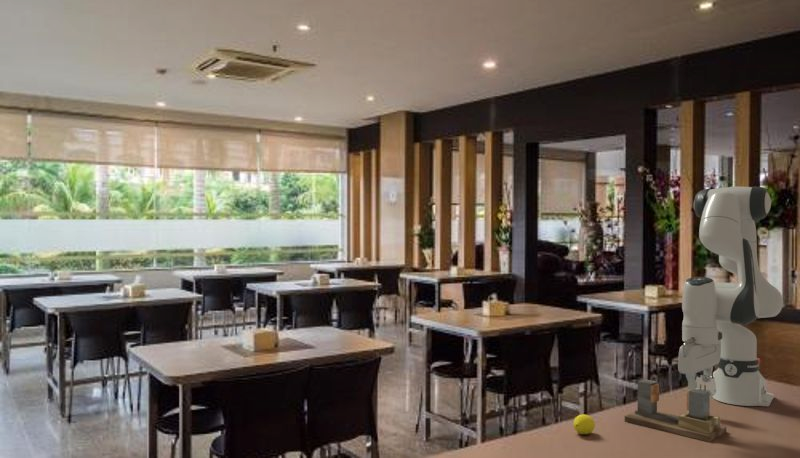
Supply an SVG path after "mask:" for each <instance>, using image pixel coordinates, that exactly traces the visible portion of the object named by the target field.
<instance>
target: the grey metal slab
mask: <svg viewBox="0 0 800 458" xmlns="http://www.w3.org/2000/svg"><path fill="white" fill-rule="evenodd" d="M710 399H711V397H710V391H704V390H699V389H695V388H694V389H691V390H689V391H687V392H686V411H687V412H689V417H690V418H694V419H699V420H703V421H707V420H709V415H710Z"/></svg>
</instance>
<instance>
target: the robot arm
mask: <svg viewBox="0 0 800 458" xmlns="http://www.w3.org/2000/svg"><path fill="white" fill-rule="evenodd" d="M771 206H772V199H771V196H770V194H769V191H768V190H767V189H766V188H765V187H761V186H755V185H753V186H739V185H738V186H737V185H736V186H729V187H718V188H705V189H702V190H700V191H698V192H697V193H696V194H695V197H694V201H693V210H694V214H695V216H696V217H698V218H699V219H700V223H699V228H698V229H699V232H698V237H699V240H700V242H701V244H702V245H703V247H705V248H706V249H707V250H708V251H710V252H711V253H713V254H715V255H717V256H718V262H719V265H720V266H721V268H723V269H724V270H725V271H727V272H729V273H732V274H734V275H735V276H736V277H737V279H738V280H737V281H738V282H723V281H721V282H719V281H717V282H715V281H714V279H713V278H710V277H706V276H695V277H694V276H693V277H689V278H687V279H685V281H684V283H683V288H682V295H681V296H682V299H681V309H682V310H681V311H682V312H683V313H682V314H683V320H682V323H681V325H682V326H681V331H682V332H681V334H682V335H681V339H682V342H684V343H683V344H682V345H681V346H680V347H679V351H678V362H677V370H678V372H679V373H680V374H683V375H685V378H686V381H687V387H688V389H691V390H693V389H695V388H696V387H697V382H696V377H697V373H699V372H701V371H703V374H701V375H702V381H703V382H707V383H708V382H710V381H711V376H712V377H714V379H715V383H716V393H715V395H714V396H713V397H712V398H713V399H714V400H716V401H718V402H721V403H725V404H728V405H736V406H741V407H742V406H743V407H745V406H746V407H757V406H758V407H770V405H771V403H772V402H773V400H774V398H775V397H774V394H773V393H771V392H767V380H766V379H765V377H764V376H763V375H762V374H761V372H760V371H759V370H760V364H761V358H759V357H758V356H757V355H758V352H757V351H758V347H757V346H758V345H757V343H758V341H757V340H758V339H757V336H756V335H755V333H754V332H753V331H751V330H750V329H749V328H747V327H745V326H748V325H749V324H751V323H753V322H755V321H756V320H757V319H761V318H762V319H764V318H765V319H766V318H773V317H776V316H777V315H779V314H780V313H781V311H782V309H783V306H784V297H783V296H782V294H781V292H780V291H779V289H777V287H775V286H774V285H773V284H771V283H770V282H769V281H768V280H767V279H766V278H765V277H764V275H763V274H762V271H761V269H760V266H759V261H758V249H757V247H758V246H757V245H758V243H757V240H758V237H757V229H756V228H757V226H756V224H759V221H760V220H763V219H765V218H766V217H767V216H769V213H770V210H771ZM716 365H717V367H718V368H717V369H715V370H714V371H713V369H714V366H716Z"/></svg>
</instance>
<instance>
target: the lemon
mask: <svg viewBox="0 0 800 458" xmlns="http://www.w3.org/2000/svg"><path fill="white" fill-rule="evenodd" d="M572 425H573V429H575V431H576V432H577V433H578V434H580V435H589V434H591V433H592V432H593V431H594V430H595V427H596V426H595V420H594V419H593V418H592V417H591V416H590V415H588V414H579V415H577V416H575V417H574V420H573V424H572Z"/></svg>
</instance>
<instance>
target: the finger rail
mask: <svg viewBox="0 0 800 458" xmlns="http://www.w3.org/2000/svg"><path fill="white" fill-rule="evenodd" d="M659 401H660V383H658V382H657V381H656V380H655V381H654V380H649V379H643V378H642V379H641V380H638V381H637V409H636V410H635V411H634V412H632V413H629V414H626V415H624V422H627V423H631V424H635V425H638V426H642V427H646V428H650V429H655V430H658V431H663V432H667V433H671V434H675V435H679V436H683V437H688V438H692V439H694V440H695V439H696V440H699V441H703V442H707V443H709V442H712V441H713V440H715V439H716V438H717V439H718V437H720V436H722V435H724V434H726V433H727V426H726V425H725V426H724V425H721V417H720V416H717V415H713V414H709V420H707V421H703V420H699V419H694V418H690V417H689V411H687V412H685V413H682V414H680V415H675V414H671V413H665V412H661V411H658V402H659Z"/></svg>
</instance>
